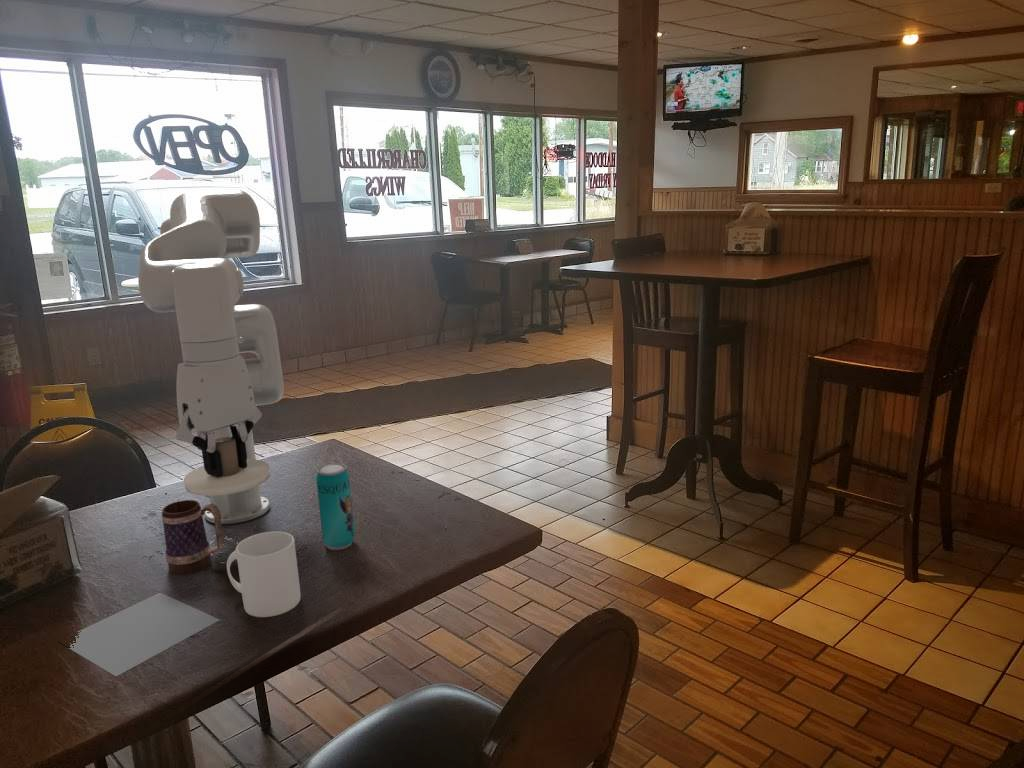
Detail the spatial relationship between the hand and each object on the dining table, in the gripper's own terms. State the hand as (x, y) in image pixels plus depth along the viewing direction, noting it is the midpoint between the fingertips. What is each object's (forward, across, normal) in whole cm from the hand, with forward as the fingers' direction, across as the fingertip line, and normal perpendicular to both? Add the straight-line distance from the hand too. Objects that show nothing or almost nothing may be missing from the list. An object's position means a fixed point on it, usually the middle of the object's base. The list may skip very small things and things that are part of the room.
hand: (227, 469), depth 111 cm
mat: (+23, +13, -7) cm, 27 cm away
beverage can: (+23, -23, -4) cm, 33 cm away
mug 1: (+23, -4, -19) cm, 30 cm away
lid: (+2, 0, 0) cm, 2 cm away
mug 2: (+23, -2, +2) cm, 23 cm away
